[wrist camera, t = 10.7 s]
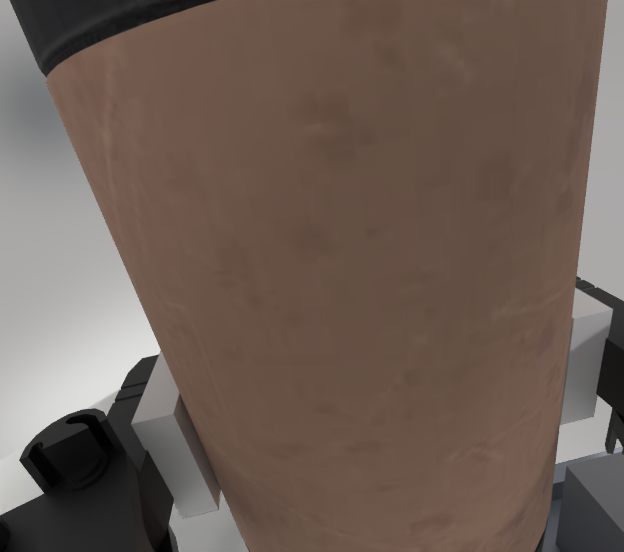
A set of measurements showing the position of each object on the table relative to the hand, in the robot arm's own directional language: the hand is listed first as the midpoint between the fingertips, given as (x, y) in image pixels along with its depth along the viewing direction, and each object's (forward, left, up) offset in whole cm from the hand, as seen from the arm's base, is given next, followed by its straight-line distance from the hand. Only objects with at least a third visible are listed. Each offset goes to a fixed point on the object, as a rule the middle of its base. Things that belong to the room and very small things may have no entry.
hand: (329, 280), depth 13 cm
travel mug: (0, +5, -11) cm, 12 cm away
